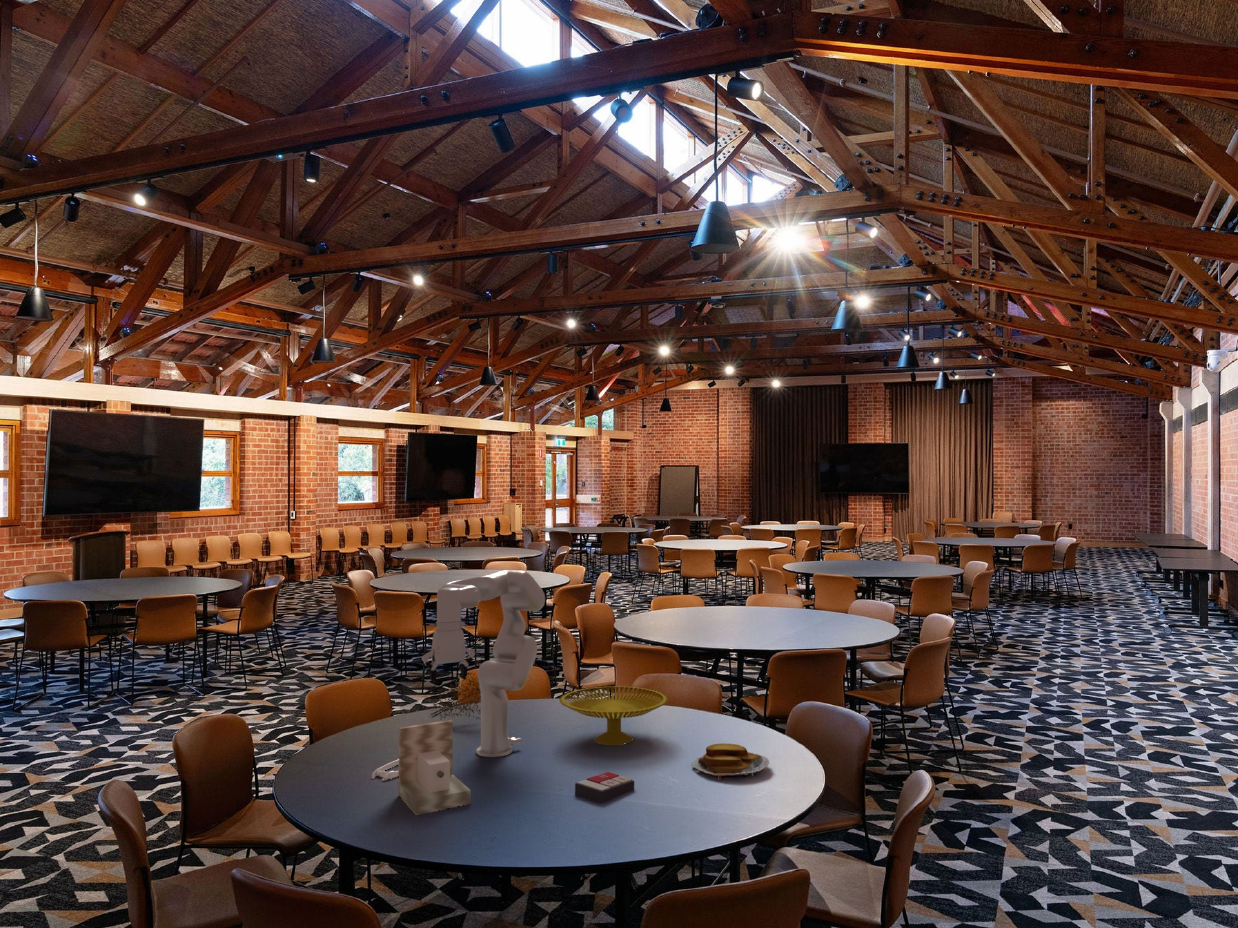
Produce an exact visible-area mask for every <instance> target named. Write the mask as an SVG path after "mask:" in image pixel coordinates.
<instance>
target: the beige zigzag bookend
mask: <svg viewBox="0 0 1238 928" xmlns="http://www.w3.org/2000/svg"><path fill="white" fill-rule="evenodd" d="M453 723H454V721H453V720H451V719H449V720H440V721H436V722H434V721H433V722H429V723H422V724H421V723H420V724H415V725H409V726H402V727H399V728H398V734H399V735H398V759H399V765H398V770H399V777H398V796H400V797H401V798H400V797H399V798H400V799H401V800H402V801H403V802H404V804H405V803H406V804H405V805H406V806H407V807H408V808H409V810H410V811H411V812H412V813H413V814H414V815H415V816H420V815H424V814H425V815H426V814H430V813H434V812H439V810H440V811H444V810H448V809H447V808H450V809H454V807H455V808H458V807H457V806H460V807H463V805H464V806H468V805H471V803H472V802H471V799H472V796H471V795H472V794H471V793H472V792H471V789H470V788H469V787H468V786H467V785H466V784H464V783H463V782H462V781H461V780H460V779H459V778H458V777H456V776H455V775H454V774H453V762H454V761H453V758H454V757H453V752H454V751H453V744H454V742H453V740H454V739H453V737H454V735H453V734H454V733H453V728H454V727H453V725H454V724H453ZM436 750H437V751H438V752H440V753H441V754H442V755H443V756H444V757H446V758H447V759H448V760H449V761H450V789H448V790H443V791H438V792H433V793H429V792H428V791H427V790H426V789H425V788H424V787H423V786H422V785H421V784H420V783H419V782H418V781H417V769H418V753H424V752H430V751H436Z"/></svg>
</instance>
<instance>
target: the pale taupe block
mask: <svg viewBox="0 0 1238 928" xmlns="http://www.w3.org/2000/svg"><path fill="white" fill-rule="evenodd" d="M417 781H418V782H419V783H420V784H421V785H422V786H423V787H424V788H425V789H426V790H427V791H428V792H429V793H433V792H438V791H443V790H448V789H450V761H449V760H448V759H447V758H446V757H444V756H443V755H442V754H441V753H440V752H438V751H437V750H436V751H430V752H424V753H418V769H417Z"/></svg>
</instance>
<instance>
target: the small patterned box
mask: <svg viewBox="0 0 1238 928" xmlns="http://www.w3.org/2000/svg"><path fill="white" fill-rule="evenodd" d="M634 790H635V780H633V778H630V777H626V776H623V775H619V774H617V773H613V772H610V771H607V772H604V773H600V774H598V775H594V776H591V777H587V778H586V779H583V780H580V781H577V782H576V783H575V784H574V795H575V796H577V797H580V798H583V799H586V800H589V801H593V802H595V803H598V804H604V803H606V801H607V802H609V801H611V800H612V799H615V798H617V797H621V796H623V795H626V794H628V793H631V792H633V791H634Z"/></svg>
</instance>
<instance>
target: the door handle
mask: <svg viewBox="0 0 1238 928" xmlns="http://www.w3.org/2000/svg"><path fill="white" fill-rule="evenodd" d="M396 765H398V766H399V758H398V759H396V760H393V761H391V762H388V763H386V764H384V765H382V766H381V767H378V768H376V769H375V770H374V771H373V772H372V774H371V779H372V780H375V778H377V777H376V776H378V777H379V778H382V779H381V781H382V782H384V781H389V780H388V779H391V780H393V779H392V778H395V777H396V778H399V777H398V776H399V769H398V770H396V771H395V770H390V769H389V768H391V769H393V768H395V767H394V766H396ZM392 767H393V768H392ZM396 767H397V766H396ZM387 769H389V770H390V771H389V770H387ZM385 770H387V771H385ZM396 778H395V779H396Z"/></svg>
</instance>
